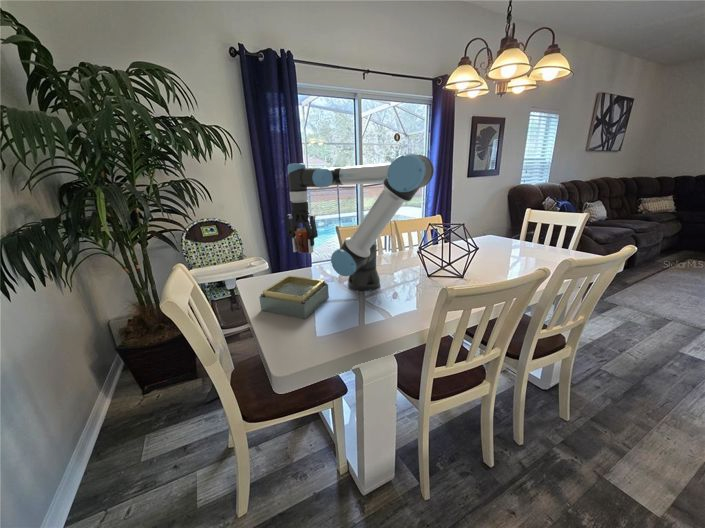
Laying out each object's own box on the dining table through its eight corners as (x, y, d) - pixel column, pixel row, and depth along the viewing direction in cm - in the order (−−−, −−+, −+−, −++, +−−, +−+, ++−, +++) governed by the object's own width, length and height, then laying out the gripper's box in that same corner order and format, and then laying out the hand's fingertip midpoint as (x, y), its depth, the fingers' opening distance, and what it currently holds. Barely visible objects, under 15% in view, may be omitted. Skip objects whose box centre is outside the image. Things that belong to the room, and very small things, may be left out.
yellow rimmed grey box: (328, 298, 125) (327, 279, 122) (305, 321, 107) (303, 299, 104) (283, 291, 132) (281, 273, 130) (255, 311, 115) (252, 290, 112)
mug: (299, 248, 138) (297, 227, 134) (317, 249, 136) (315, 227, 133) (290, 256, 127) (287, 233, 123) (308, 256, 125) (306, 233, 122)
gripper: (324, 200, 124) (326, 251, 131) (284, 199, 131) (289, 248, 138) (315, 202, 117) (319, 256, 124) (274, 201, 124) (280, 252, 132)
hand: (303, 251), depth 131 cm, fingers closed on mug, 7 cm apart
